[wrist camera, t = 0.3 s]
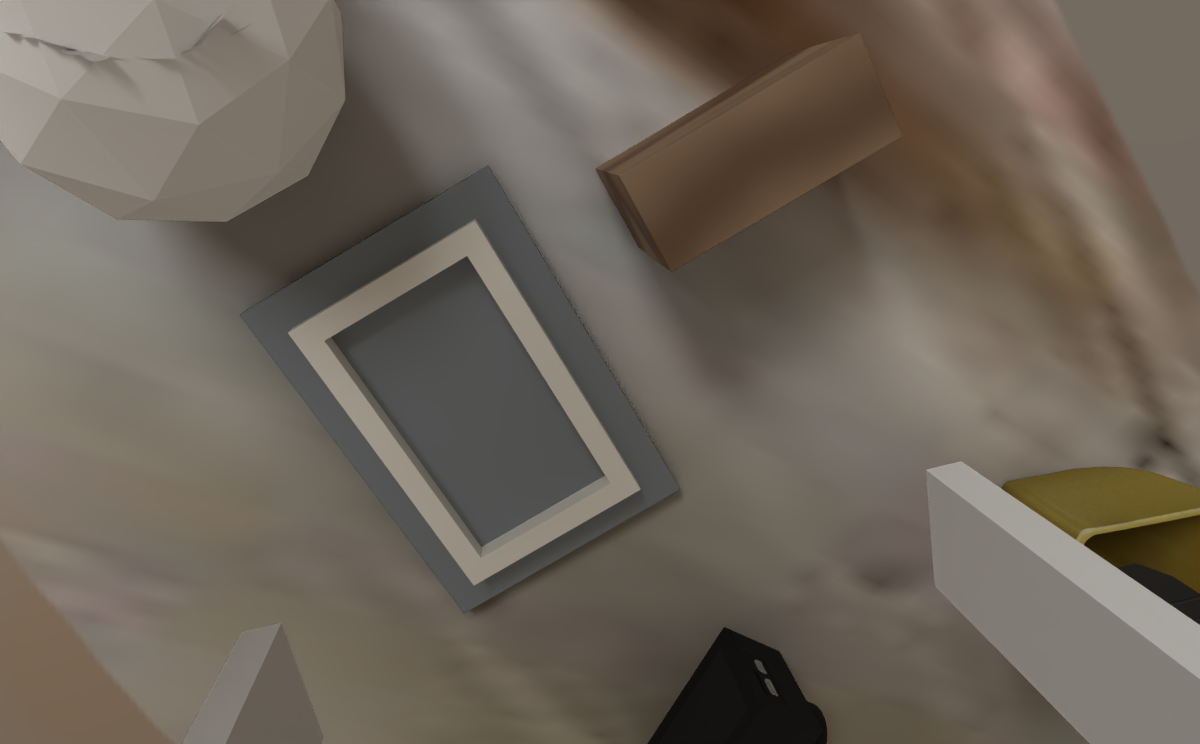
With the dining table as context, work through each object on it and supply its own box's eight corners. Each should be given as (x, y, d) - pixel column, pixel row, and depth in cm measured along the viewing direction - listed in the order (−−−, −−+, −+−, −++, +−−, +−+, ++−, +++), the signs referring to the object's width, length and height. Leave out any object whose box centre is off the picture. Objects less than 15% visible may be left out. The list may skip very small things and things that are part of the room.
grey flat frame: (244, 311, 39) (231, 320, 37) (488, 165, 38) (487, 167, 36) (464, 605, 45) (463, 626, 43) (677, 483, 44) (685, 498, 42)
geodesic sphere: (380, -220, 29) (-52, -354, 18) (480, 161, 33) (180, 241, 22) (164, -87, 36) (-230, -124, 25) (266, 208, 40) (-34, 284, 30)
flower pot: (1100, 562, 50) (1225, 650, 41) (969, 588, 49) (1069, 683, 40) (1108, 434, 47) (1244, 500, 39) (970, 459, 46) (1077, 531, 38)
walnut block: (595, 168, 39) (619, 175, 31) (788, 53, 39) (860, 32, 31) (638, 246, 40) (671, 271, 33) (825, 136, 40) (902, 136, 32)
